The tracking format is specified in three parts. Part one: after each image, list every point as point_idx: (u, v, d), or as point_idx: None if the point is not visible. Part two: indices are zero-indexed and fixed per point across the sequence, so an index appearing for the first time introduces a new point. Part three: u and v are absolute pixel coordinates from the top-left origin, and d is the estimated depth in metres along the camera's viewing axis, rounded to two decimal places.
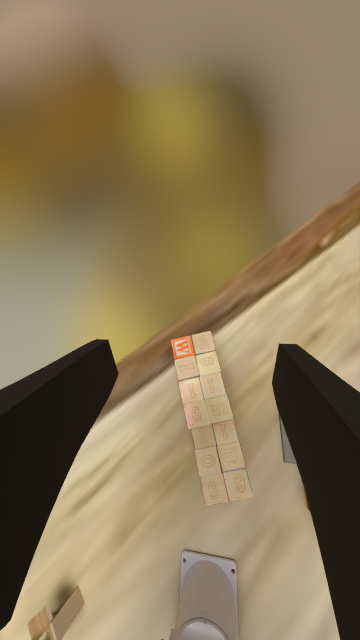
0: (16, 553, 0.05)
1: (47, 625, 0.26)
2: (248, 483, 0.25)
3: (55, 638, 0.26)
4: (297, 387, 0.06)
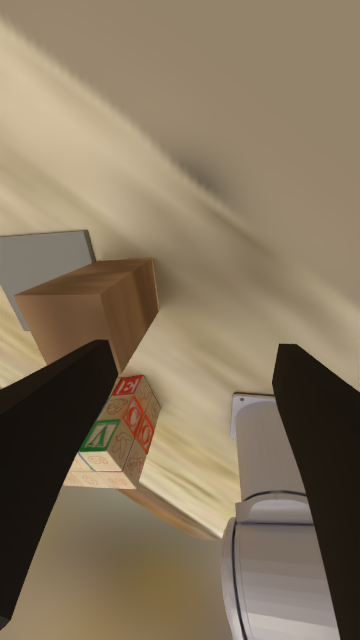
0: (16, 553, 0.05)
1: None
2: (93, 452, 0.17)
3: None
4: (297, 387, 0.06)
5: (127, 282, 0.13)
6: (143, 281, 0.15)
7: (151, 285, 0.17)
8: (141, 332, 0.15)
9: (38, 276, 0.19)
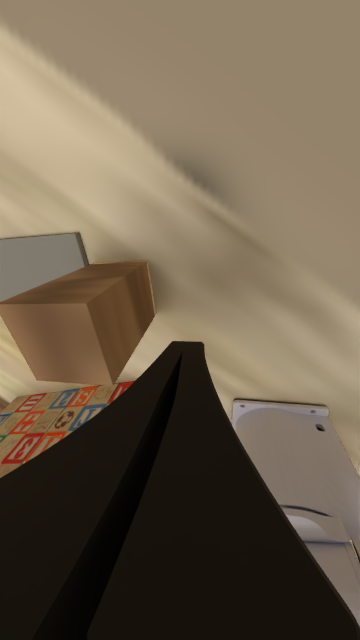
0: None
1: None
2: None
3: None
4: None
5: (119, 288, 0.12)
6: (137, 285, 0.15)
7: (146, 289, 0.16)
8: (136, 340, 0.14)
9: (29, 281, 0.19)
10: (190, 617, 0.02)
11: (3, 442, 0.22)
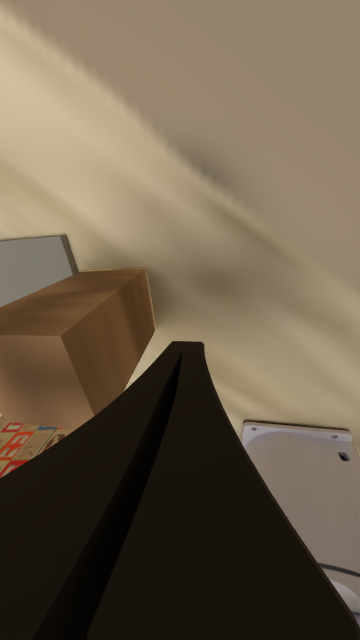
0: None
1: None
2: None
3: None
4: None
5: (109, 306, 0.09)
6: (134, 299, 0.12)
7: (145, 302, 0.14)
8: (132, 364, 0.12)
9: (10, 290, 0.16)
10: (190, 618, 0.02)
11: None
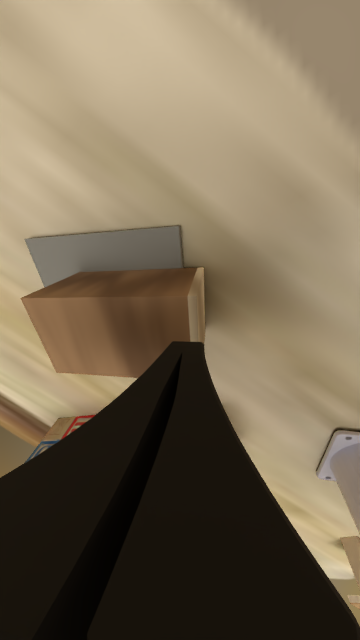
0: None
1: None
2: None
3: None
4: None
5: (78, 305, 0.10)
6: (134, 320, 0.10)
7: (169, 335, 0.10)
8: (112, 370, 0.12)
9: None
10: (190, 618, 0.02)
11: None
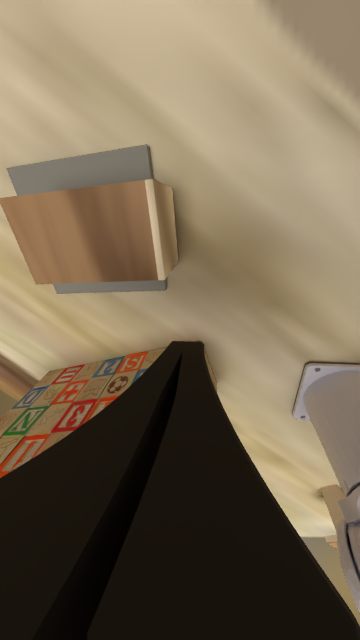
0: None
1: None
2: None
3: None
4: None
5: (50, 201, 0.11)
6: (101, 212, 0.11)
7: (133, 228, 0.11)
8: (85, 275, 0.13)
9: None
10: (190, 617, 0.02)
11: (47, 412, 0.19)
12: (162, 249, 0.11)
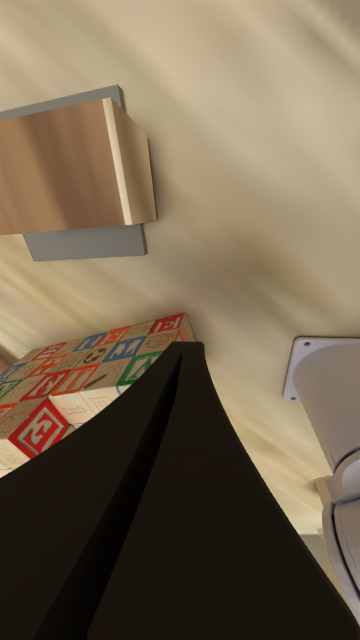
0: None
1: None
2: None
3: None
4: None
5: (5, 131, 0.10)
6: (58, 143, 0.10)
7: (94, 161, 0.10)
8: (49, 222, 0.12)
9: None
10: (190, 617, 0.02)
11: (20, 384, 0.18)
12: (128, 188, 0.10)
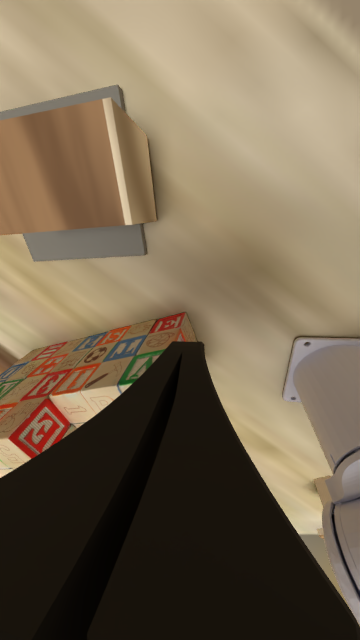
0: None
1: None
2: None
3: None
4: None
5: (5, 131, 0.10)
6: (58, 143, 0.10)
7: (94, 161, 0.10)
8: (49, 222, 0.12)
9: None
10: (190, 617, 0.02)
11: (21, 384, 0.18)
12: (128, 188, 0.10)
